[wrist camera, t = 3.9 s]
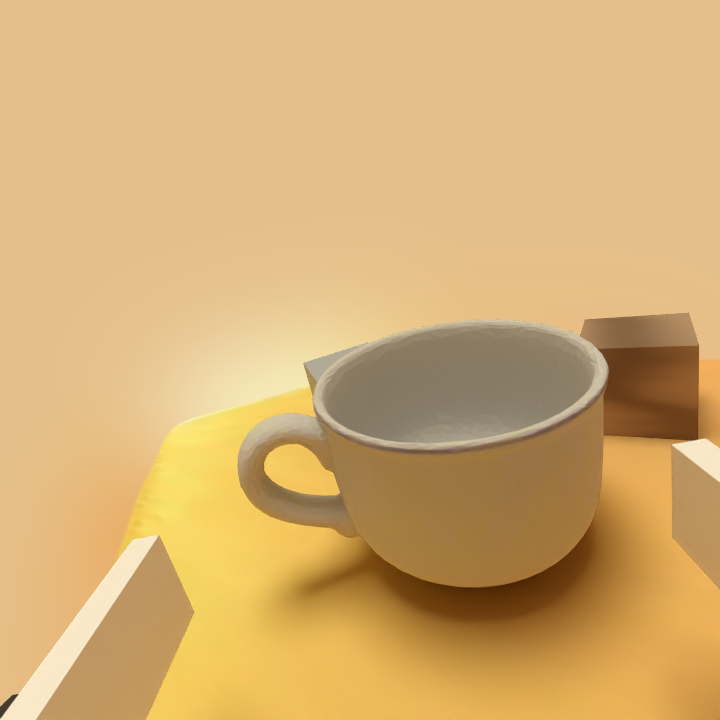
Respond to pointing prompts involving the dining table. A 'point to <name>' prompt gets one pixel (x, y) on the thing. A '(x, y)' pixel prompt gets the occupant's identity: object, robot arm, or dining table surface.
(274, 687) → the dining table surface
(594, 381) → the teacup
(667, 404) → the walnut block
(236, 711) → the dining table surface
